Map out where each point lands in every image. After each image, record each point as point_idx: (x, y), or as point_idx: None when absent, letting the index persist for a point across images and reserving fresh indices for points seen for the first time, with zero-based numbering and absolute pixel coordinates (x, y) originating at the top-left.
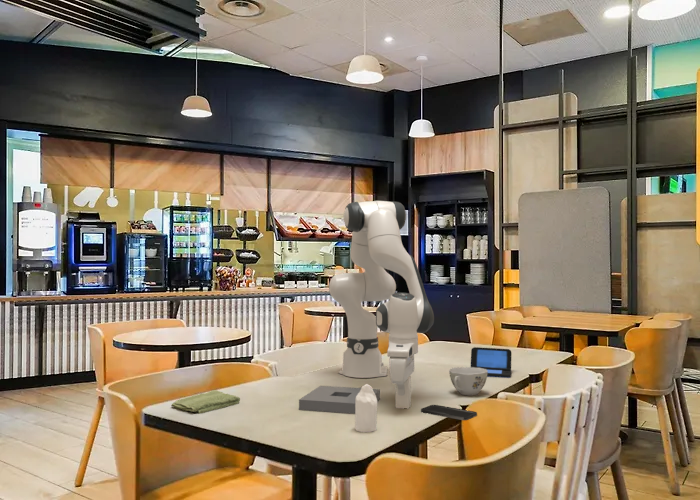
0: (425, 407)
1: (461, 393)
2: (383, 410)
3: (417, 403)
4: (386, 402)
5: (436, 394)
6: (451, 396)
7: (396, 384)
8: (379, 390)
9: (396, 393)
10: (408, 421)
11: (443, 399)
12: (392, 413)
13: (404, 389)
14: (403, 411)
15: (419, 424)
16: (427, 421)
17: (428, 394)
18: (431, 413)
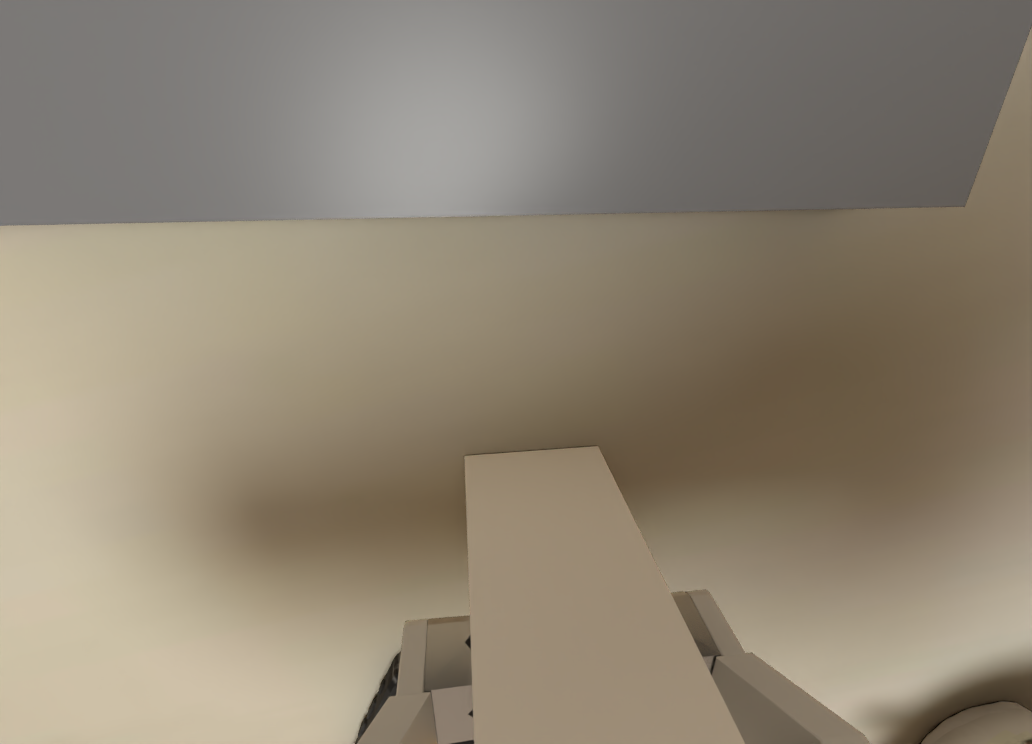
0: None
1: (953, 724)
2: (312, 373)
3: (678, 567)
4: (678, 314)
5: (976, 606)
6: (903, 686)
7: (474, 720)
8: (919, 206)
9: (470, 583)
10: (50, 650)
11: (818, 671)
12: (237, 482)
13: (437, 740)
14: (362, 543)
15: (23, 722)
16: (149, 737)
17: (985, 564)
18: (368, 716)
